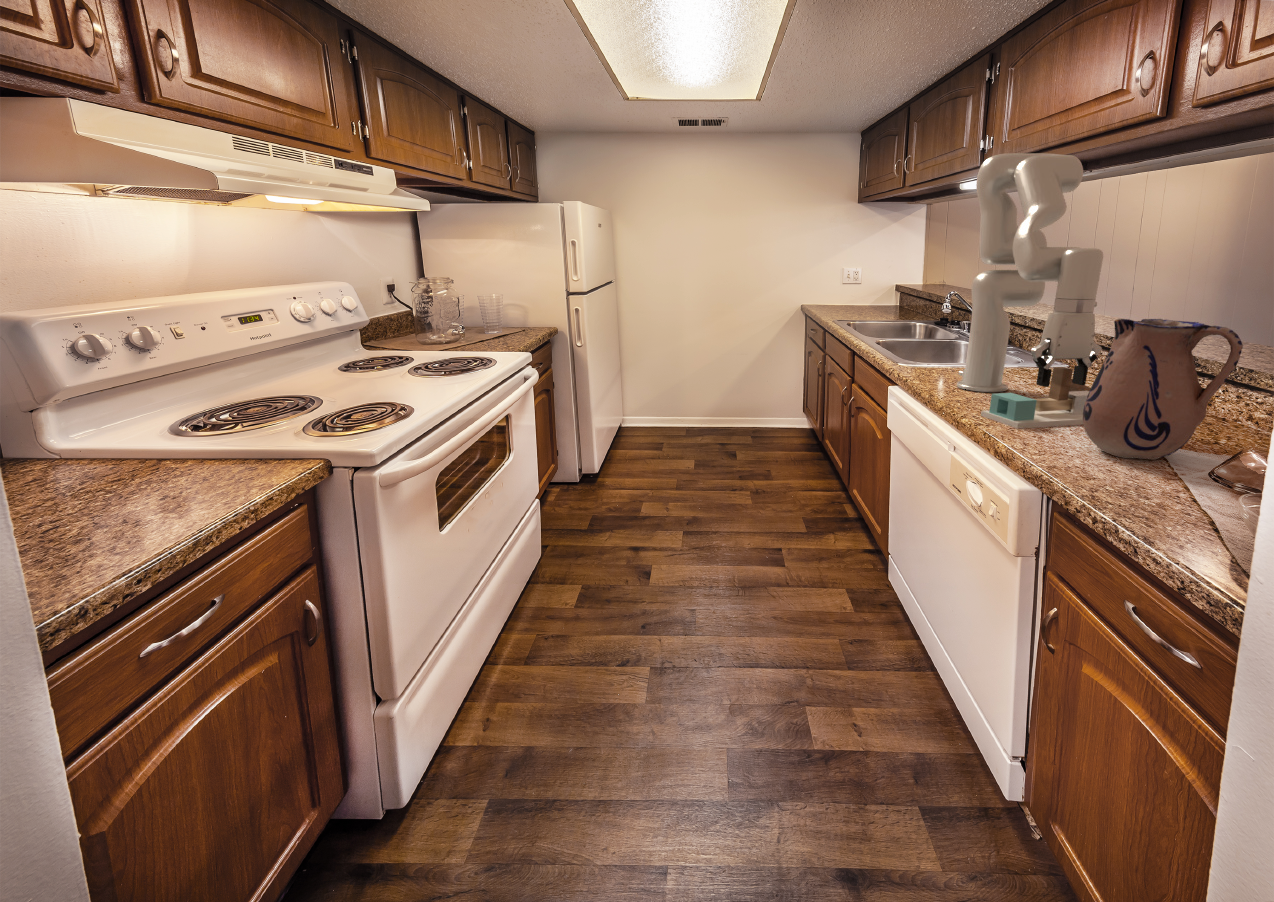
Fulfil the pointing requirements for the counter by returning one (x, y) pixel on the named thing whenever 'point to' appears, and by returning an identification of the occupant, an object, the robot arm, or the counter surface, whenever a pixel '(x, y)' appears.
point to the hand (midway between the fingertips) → (1060, 384)
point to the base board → (1039, 419)
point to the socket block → (1012, 406)
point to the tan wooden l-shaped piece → (1057, 392)
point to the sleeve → (1077, 402)
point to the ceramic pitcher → (1152, 388)
